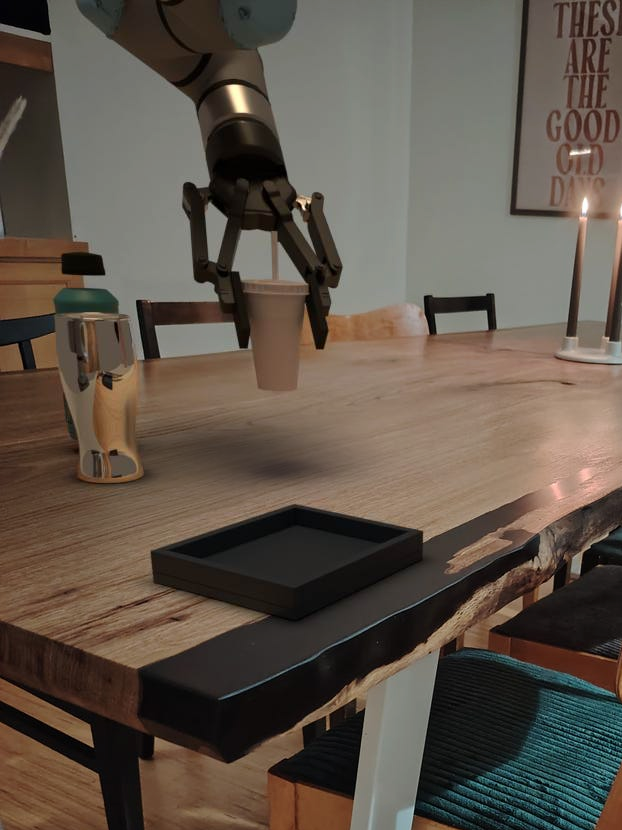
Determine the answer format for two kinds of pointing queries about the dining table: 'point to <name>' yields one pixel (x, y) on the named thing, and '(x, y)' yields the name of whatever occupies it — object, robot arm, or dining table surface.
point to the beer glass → (101, 392)
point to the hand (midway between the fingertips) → (284, 339)
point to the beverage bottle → (83, 299)
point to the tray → (287, 559)
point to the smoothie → (275, 326)
